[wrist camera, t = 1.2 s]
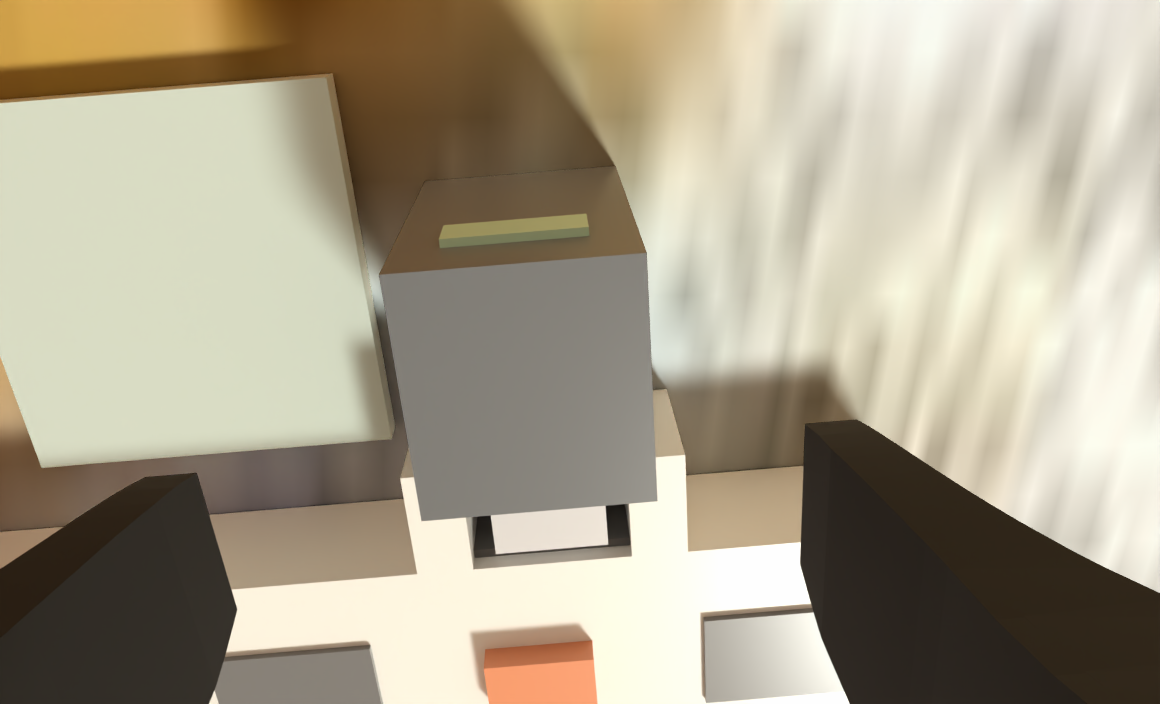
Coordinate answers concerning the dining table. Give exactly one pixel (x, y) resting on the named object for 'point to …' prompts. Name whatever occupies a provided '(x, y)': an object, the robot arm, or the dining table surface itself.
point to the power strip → (525, 601)
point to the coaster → (186, 273)
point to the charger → (524, 354)
